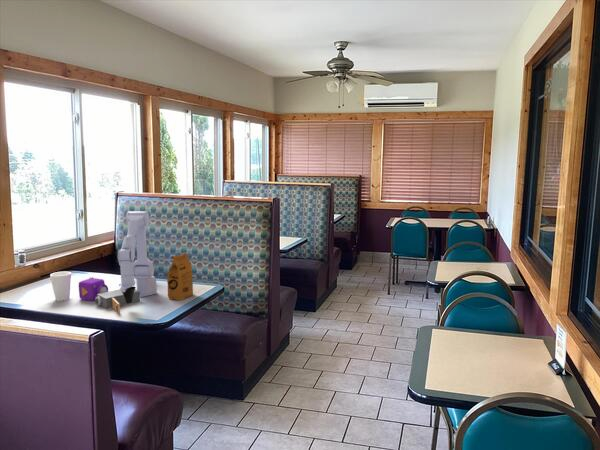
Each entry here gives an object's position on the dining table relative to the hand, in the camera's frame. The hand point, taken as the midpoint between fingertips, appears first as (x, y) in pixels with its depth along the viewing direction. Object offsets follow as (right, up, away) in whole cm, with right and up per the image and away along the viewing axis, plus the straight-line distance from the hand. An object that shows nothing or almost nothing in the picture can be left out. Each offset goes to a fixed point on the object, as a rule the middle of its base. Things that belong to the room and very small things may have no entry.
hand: (129, 302), depth 238 cm
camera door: (-6, -3, -1) cm, 7 cm away
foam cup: (-40, -1, +18) cm, 43 cm away
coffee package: (+19, 0, +21) cm, 28 cm away
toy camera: (-23, -1, +19) cm, 30 cm away
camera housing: (-9, -2, +12) cm, 15 cm away
